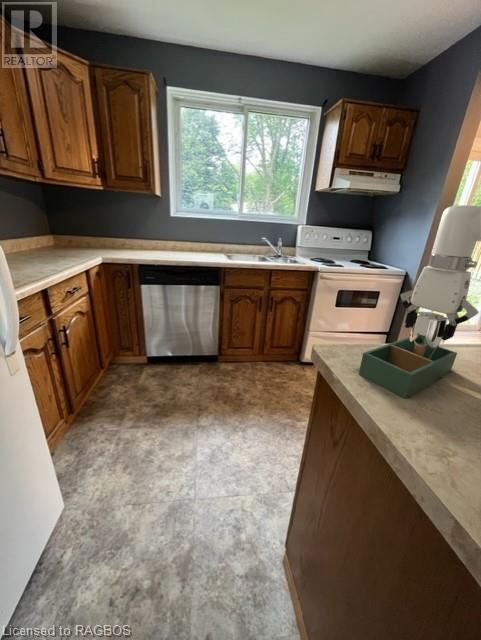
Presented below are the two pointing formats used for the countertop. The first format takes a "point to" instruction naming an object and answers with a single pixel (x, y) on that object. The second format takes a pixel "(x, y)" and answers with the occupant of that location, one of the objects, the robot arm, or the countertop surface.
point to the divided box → (404, 367)
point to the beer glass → (426, 333)
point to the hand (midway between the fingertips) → (426, 332)
